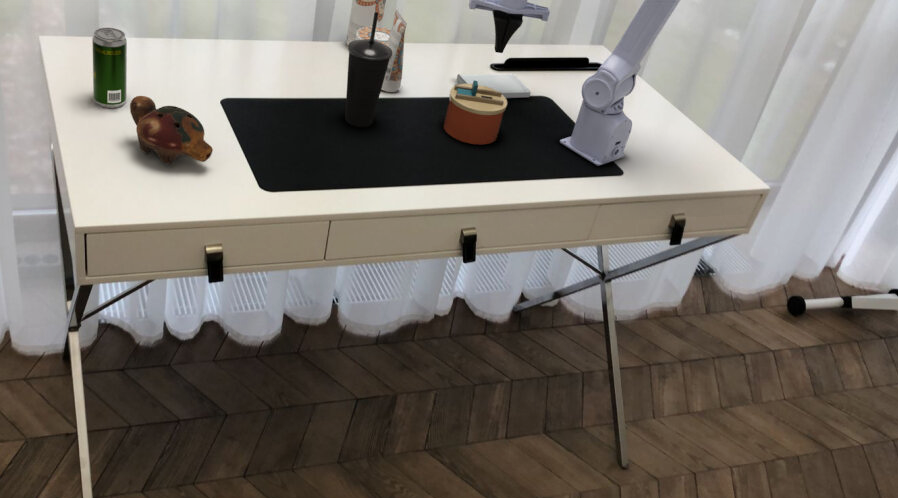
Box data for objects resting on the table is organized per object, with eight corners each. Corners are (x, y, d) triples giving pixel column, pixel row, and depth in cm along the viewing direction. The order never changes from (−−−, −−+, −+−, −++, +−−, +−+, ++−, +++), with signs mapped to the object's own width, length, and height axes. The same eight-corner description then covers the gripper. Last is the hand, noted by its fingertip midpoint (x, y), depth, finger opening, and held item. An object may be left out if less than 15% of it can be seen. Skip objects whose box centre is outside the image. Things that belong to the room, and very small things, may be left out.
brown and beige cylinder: (495, 121, 182) (505, 85, 177) (501, 149, 174) (511, 111, 169) (441, 113, 181) (449, 76, 176) (443, 140, 173) (452, 102, 168)
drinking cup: (374, 135, 170) (394, 26, 158) (332, 124, 171) (348, 15, 158) (383, 116, 176) (403, 10, 164) (343, 106, 177) (359, 0, 165)
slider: (474, 92, 174) (477, 80, 173) (475, 98, 172) (478, 86, 171) (456, 90, 174) (459, 77, 172) (457, 95, 172) (460, 83, 170)
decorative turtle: (143, 126, 160) (148, 82, 155) (223, 162, 157) (231, 118, 152) (108, 147, 152) (112, 101, 147) (191, 185, 149) (198, 139, 145)
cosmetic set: (416, 97, 185) (435, 1, 173) (369, 96, 182) (386, -2, 170) (378, 40, 203) (394, -50, 191) (336, 38, 200) (349, -53, 188)
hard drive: (475, 93, 187) (531, 90, 191) (457, 73, 192) (512, 71, 197) (473, 100, 188) (529, 98, 192) (455, 81, 193) (510, 79, 198)
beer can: (132, 105, 164) (132, 38, 157) (102, 111, 161) (101, 43, 154) (117, 91, 167) (117, 25, 160) (87, 96, 164) (86, 29, 157)
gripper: (552, -23, 178) (533, 47, 186) (475, -36, 176) (459, 35, 184) (558, -8, 172) (538, 63, 180) (477, -22, 171) (461, 51, 179)
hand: (498, 50), depth 182 cm, fingers closed
